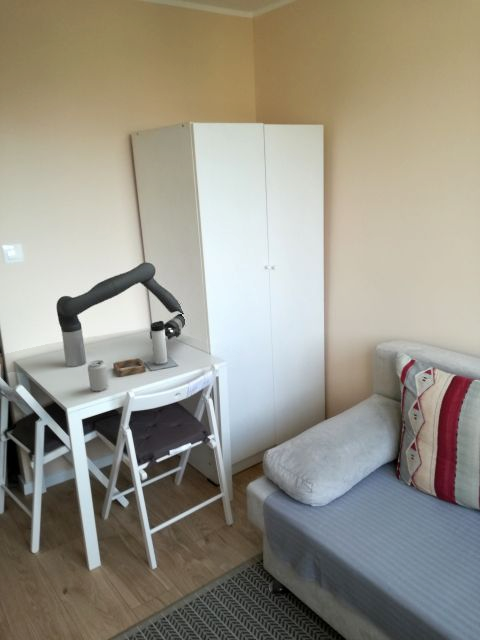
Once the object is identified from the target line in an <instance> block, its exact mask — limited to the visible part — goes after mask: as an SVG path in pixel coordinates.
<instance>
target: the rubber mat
mask: <svg viewBox="0 0 480 640" xmlns="http://www.w3.org/2000/svg"><path fill="white" fill-rule="evenodd" d="M167 361H168V363H167V364H165V365H155V364H154V359H152V360H146V361H144V362H143V363H144V365H145V366H146V367H147V368H148V369H149V371H150V372H154V371H155V372H157V371H161V370H164V369H165V370H166V369H170V368H175V367H179V364H178V363H177V361H175V360H174V359H173V358H172V357H171V356H167Z"/></svg>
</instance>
